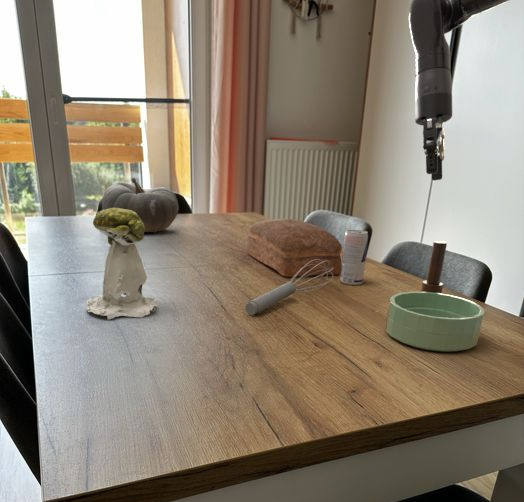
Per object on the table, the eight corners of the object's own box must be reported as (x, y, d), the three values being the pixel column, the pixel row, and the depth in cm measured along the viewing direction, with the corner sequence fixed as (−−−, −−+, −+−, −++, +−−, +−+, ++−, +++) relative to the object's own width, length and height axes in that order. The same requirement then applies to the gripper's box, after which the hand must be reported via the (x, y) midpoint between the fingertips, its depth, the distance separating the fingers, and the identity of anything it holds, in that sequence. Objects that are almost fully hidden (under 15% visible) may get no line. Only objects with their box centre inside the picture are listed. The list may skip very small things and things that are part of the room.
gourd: (101, 215, 183) (106, 165, 175) (171, 227, 190) (179, 180, 183) (97, 235, 162) (102, 179, 154) (176, 248, 169) (185, 195, 162)
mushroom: (83, 302, 99) (73, 204, 92) (149, 296, 104) (145, 203, 97) (90, 321, 89) (79, 213, 82) (163, 315, 94) (159, 212, 87)
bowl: (450, 322, 98) (455, 291, 96) (495, 353, 84) (503, 318, 82) (373, 322, 96) (377, 291, 94) (406, 355, 82) (412, 319, 79)
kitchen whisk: (230, 315, 96) (231, 282, 94) (313, 281, 122) (316, 255, 120) (257, 322, 93) (259, 288, 91) (337, 286, 120) (340, 259, 117)
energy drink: (364, 281, 124) (371, 231, 119) (359, 286, 119) (365, 234, 114) (343, 278, 126) (348, 228, 121) (337, 283, 121) (342, 231, 116)
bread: (282, 279, 122) (285, 230, 118) (242, 253, 148) (244, 212, 143) (344, 275, 128) (350, 229, 124) (296, 251, 153) (299, 211, 149)
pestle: (435, 293, 117) (445, 240, 112) (444, 298, 113) (454, 244, 108) (417, 293, 116) (426, 239, 112) (425, 298, 112) (435, 243, 108)
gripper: (448, 82, 100) (449, 168, 102) (455, 103, 113) (456, 179, 115) (409, 90, 103) (411, 174, 105) (419, 110, 116) (421, 184, 118)
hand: (434, 176), depth 110 cm, fingers open, 8 cm apart
